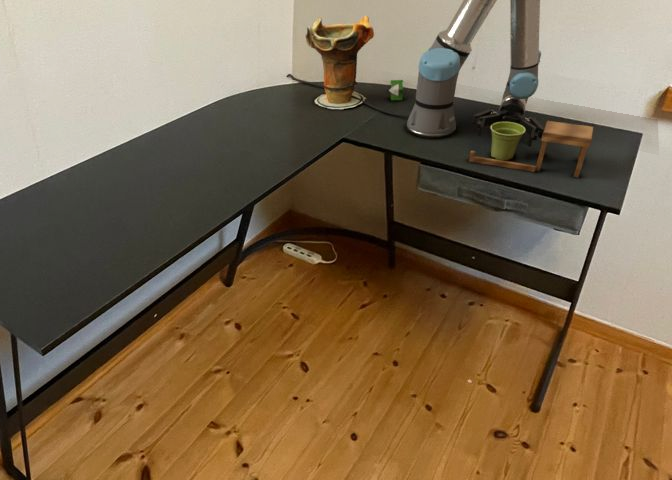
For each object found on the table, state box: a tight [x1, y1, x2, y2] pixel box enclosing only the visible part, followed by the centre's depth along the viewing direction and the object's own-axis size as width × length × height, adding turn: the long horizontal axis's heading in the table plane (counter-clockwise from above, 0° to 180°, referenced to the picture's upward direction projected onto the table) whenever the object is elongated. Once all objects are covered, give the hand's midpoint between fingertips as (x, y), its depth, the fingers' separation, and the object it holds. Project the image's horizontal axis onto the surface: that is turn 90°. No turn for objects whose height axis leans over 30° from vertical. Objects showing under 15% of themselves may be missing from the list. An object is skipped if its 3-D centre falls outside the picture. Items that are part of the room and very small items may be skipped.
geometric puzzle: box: [386, 79, 408, 101], centre depth 213 cm, size 7×7×8 cm
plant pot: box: [490, 122, 526, 161], centre depth 173 cm, size 9×9×9 cm
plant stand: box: [468, 120, 594, 178], centre depth 169 cm, size 30×13×11 cm, turn 64°
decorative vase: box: [305, 15, 375, 110], centre depth 207 cm, size 21×23×28 cm
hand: (505, 136), depth 169 cm, fingers open, 13 cm apart
